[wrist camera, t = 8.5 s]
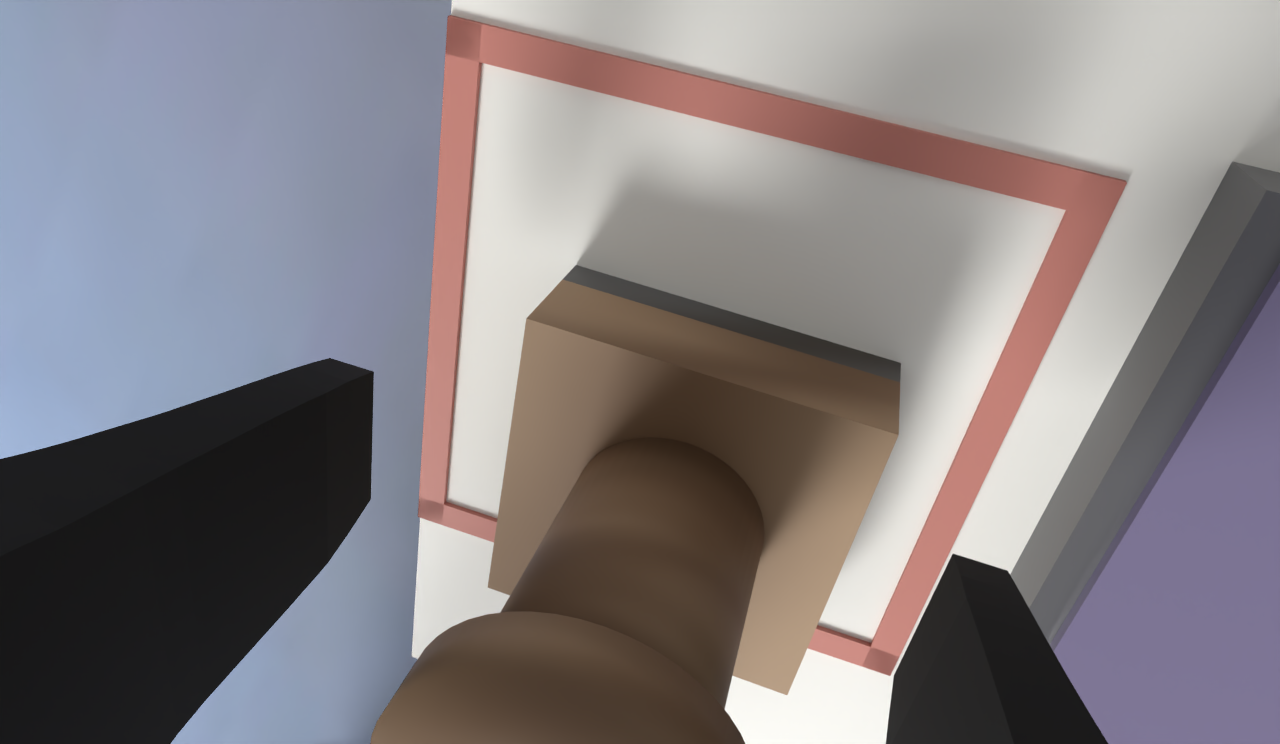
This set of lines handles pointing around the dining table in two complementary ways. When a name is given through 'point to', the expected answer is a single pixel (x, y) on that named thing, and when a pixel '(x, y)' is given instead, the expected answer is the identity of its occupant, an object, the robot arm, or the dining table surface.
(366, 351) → the dining table surface
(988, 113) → the paper sheet
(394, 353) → the dining table surface
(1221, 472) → the ink pad
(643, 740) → the stamp
